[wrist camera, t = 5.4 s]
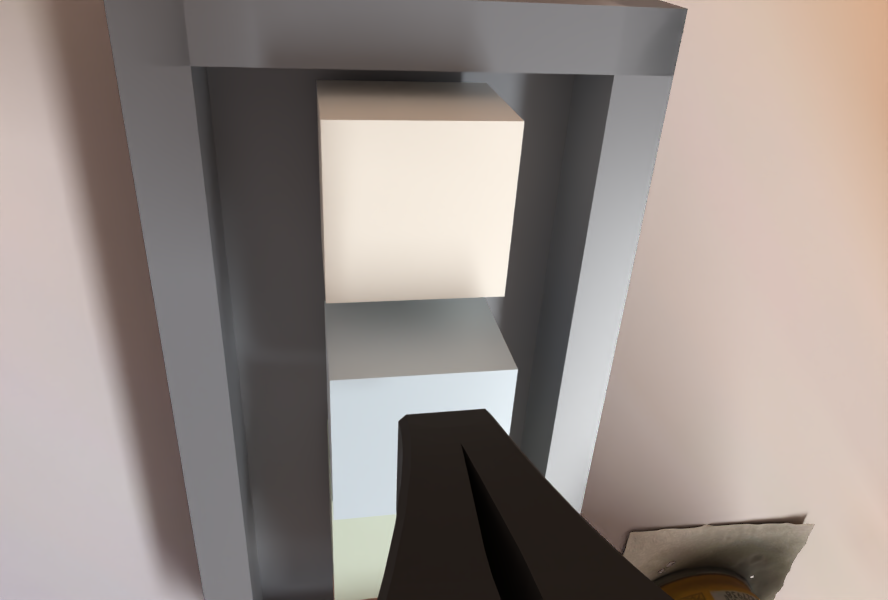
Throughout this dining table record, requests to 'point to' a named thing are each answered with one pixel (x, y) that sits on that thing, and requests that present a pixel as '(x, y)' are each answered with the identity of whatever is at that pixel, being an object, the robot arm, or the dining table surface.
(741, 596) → the condiment
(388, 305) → the pale blue cube
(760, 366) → the dining table surface
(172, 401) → the keypad base
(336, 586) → the sage key
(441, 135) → the cream cube
